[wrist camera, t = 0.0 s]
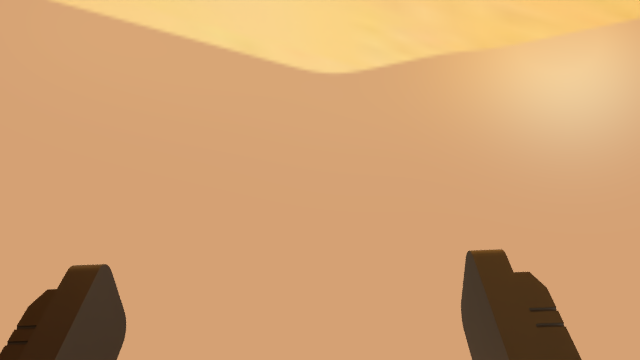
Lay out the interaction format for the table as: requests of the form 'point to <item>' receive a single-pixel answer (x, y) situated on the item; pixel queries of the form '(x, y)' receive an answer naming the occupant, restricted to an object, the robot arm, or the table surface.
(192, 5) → the table surface
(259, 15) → the table surface
